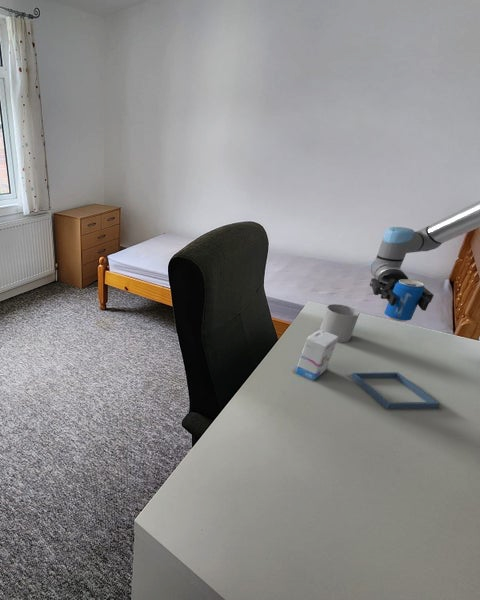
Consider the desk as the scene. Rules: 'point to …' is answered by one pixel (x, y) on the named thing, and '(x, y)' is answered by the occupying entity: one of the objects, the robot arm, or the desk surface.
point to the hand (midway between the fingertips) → (409, 303)
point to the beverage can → (405, 300)
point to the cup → (340, 321)
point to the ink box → (316, 354)
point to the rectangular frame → (401, 405)
